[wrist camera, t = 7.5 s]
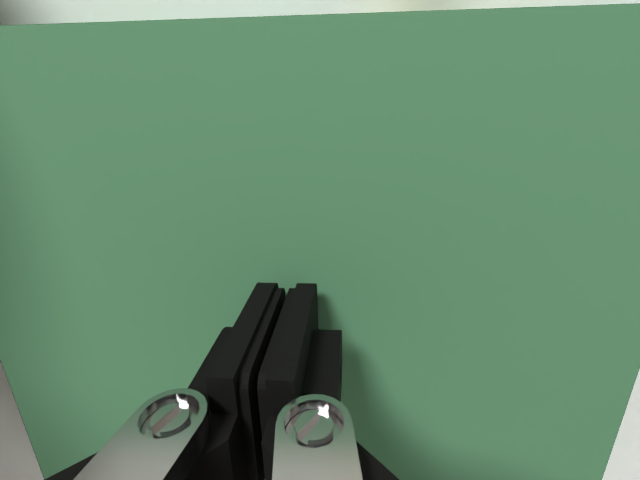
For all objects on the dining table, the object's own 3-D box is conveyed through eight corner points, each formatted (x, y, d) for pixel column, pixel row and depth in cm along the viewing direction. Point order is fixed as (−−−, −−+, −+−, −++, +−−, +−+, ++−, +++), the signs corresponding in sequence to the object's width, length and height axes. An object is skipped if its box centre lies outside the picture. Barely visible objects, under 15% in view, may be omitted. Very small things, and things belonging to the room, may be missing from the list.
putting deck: (-11, 46, 12) (-121, 30, 9) (653, 27, 10) (764, -1, 8) (147, 607, 22) (118, 679, 20) (494, 644, 21) (516, 729, 18)
